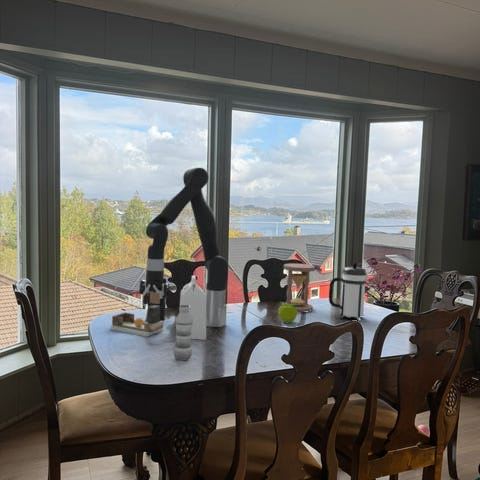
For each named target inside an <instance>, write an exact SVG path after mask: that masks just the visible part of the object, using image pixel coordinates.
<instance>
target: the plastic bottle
mask: <svg viewBox="0 0 480 480" xmlns="http://www.w3.org/2000/svg"><path fill="white" fill-rule="evenodd" d="M178 311H180V313H178V314H177V315H176V318H175V319H174V320H175V321H174V323H175V335H176V336H175V344H174V349H173V356H174V358H175V359H176V360H178V361H186V360H190V359H191V357H192V353H193V349H192V340H191V331H192V325H193V318H192V316H191V315H190V313H189V311H190V306H188V305H181V306H180V305H179V309H178Z"/></svg>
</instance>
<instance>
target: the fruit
mask: <svg viewBox="0 0 480 480" xmlns="http://www.w3.org/2000/svg"><path fill="white" fill-rule="evenodd" d="M286 303H287V302H282V301H280V302H279V304H281V305H280V306H279V308H278V317H279V319H280V320H281V321H282V322H283V321H284V323H285V322H291V323H292V322H294V321H295V320H296V319H297V315H298V313H297V309H296V308H295V306H294V305H297V304H291V305H290V304H286ZM282 304H284V305H282Z"/></svg>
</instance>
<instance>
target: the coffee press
mask: <svg viewBox="0 0 480 480" xmlns="http://www.w3.org/2000/svg"><path fill="white" fill-rule="evenodd" d="M341 273H342V277H335V278H332V279H331V281H330V283H329V290H328V301H329V304H330V305H331V306H332V307H335V308H338V309H339V310H340V315H339V316H341V317H342V316H346V317H345V318H351V317H360V316H364V309H365V308H364V307H365V295H366V294H365V293H366V284H367V280H369V279H370V277H369V275H368V273H367V271H366V269H365V268H363V267H358V264H357V262H353V263H352V266H345V267H344V268H343V270H342V271H341ZM336 282H341V294H340V304H339V303H335V301H333V294H334V293H333V292H334V284H335V283H336Z"/></svg>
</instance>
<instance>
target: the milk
mask: <svg viewBox="0 0 480 480" xmlns="http://www.w3.org/2000/svg"><path fill="white" fill-rule="evenodd" d="M196 280H197V278H196V275H191V281H190V282H189V283H186V284H185V285H184V286H183V288H182V289H181V290H180V295H179V296H180V299H179V307H180V306H181V305H188V306H190V311H189V313H190V315H191V316H192V318H193V325H192V331H191V339H199V340H207V326H206V292H205V291H204V290H203V288H201V287H200V285H198V284H197V282H196ZM178 311H179V310H178ZM179 313H180V311H179ZM179 313H178V314H179Z"/></svg>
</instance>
